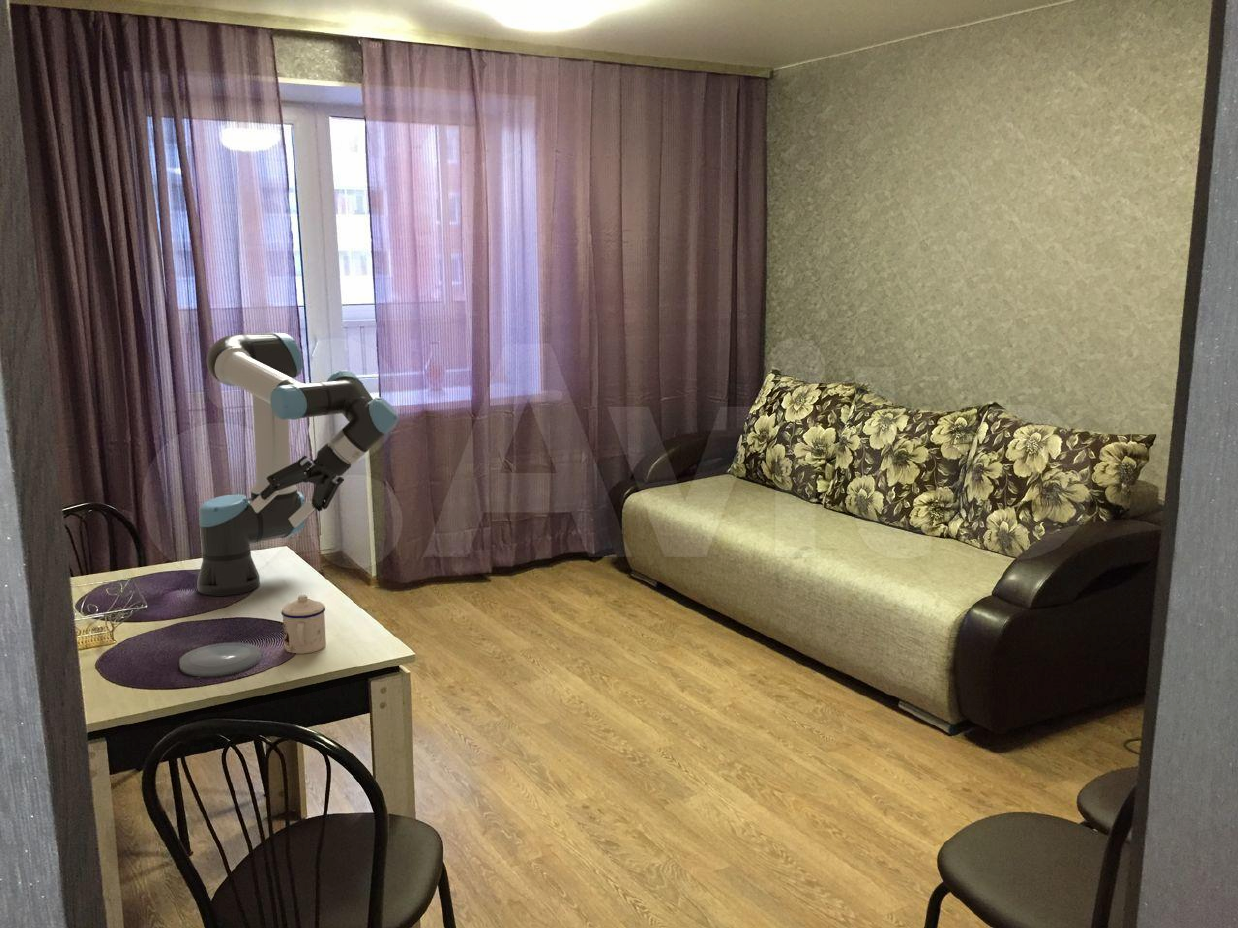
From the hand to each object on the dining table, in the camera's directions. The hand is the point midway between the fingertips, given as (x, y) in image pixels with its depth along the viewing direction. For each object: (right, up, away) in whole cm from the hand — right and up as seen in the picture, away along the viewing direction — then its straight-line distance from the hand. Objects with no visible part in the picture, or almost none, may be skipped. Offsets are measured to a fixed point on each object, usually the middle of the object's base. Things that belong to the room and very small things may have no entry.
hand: (273, 516), depth 234 cm
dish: (-5, -30, -18) cm, 35 cm away
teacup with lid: (+11, -29, -11) cm, 32 cm away
